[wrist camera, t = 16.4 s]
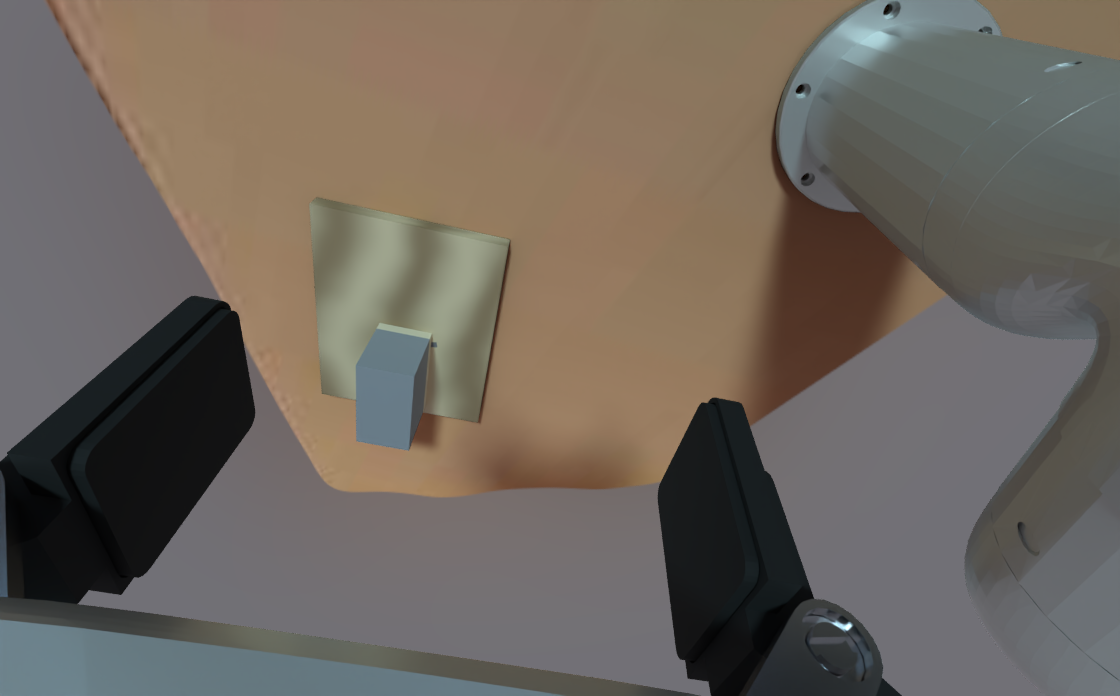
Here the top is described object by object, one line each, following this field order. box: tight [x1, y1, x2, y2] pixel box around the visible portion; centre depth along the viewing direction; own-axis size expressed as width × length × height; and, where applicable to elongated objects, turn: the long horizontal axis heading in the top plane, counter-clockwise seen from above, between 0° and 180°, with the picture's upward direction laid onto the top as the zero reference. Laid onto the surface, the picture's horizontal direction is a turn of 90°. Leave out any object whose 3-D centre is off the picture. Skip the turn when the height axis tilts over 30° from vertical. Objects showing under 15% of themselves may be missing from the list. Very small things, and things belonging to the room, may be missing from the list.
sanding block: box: [356, 323, 432, 451], centre depth 43 cm, size 4×8×6 cm, turn 168°
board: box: [309, 197, 510, 423], centre depth 44 cm, size 14×18×1 cm
